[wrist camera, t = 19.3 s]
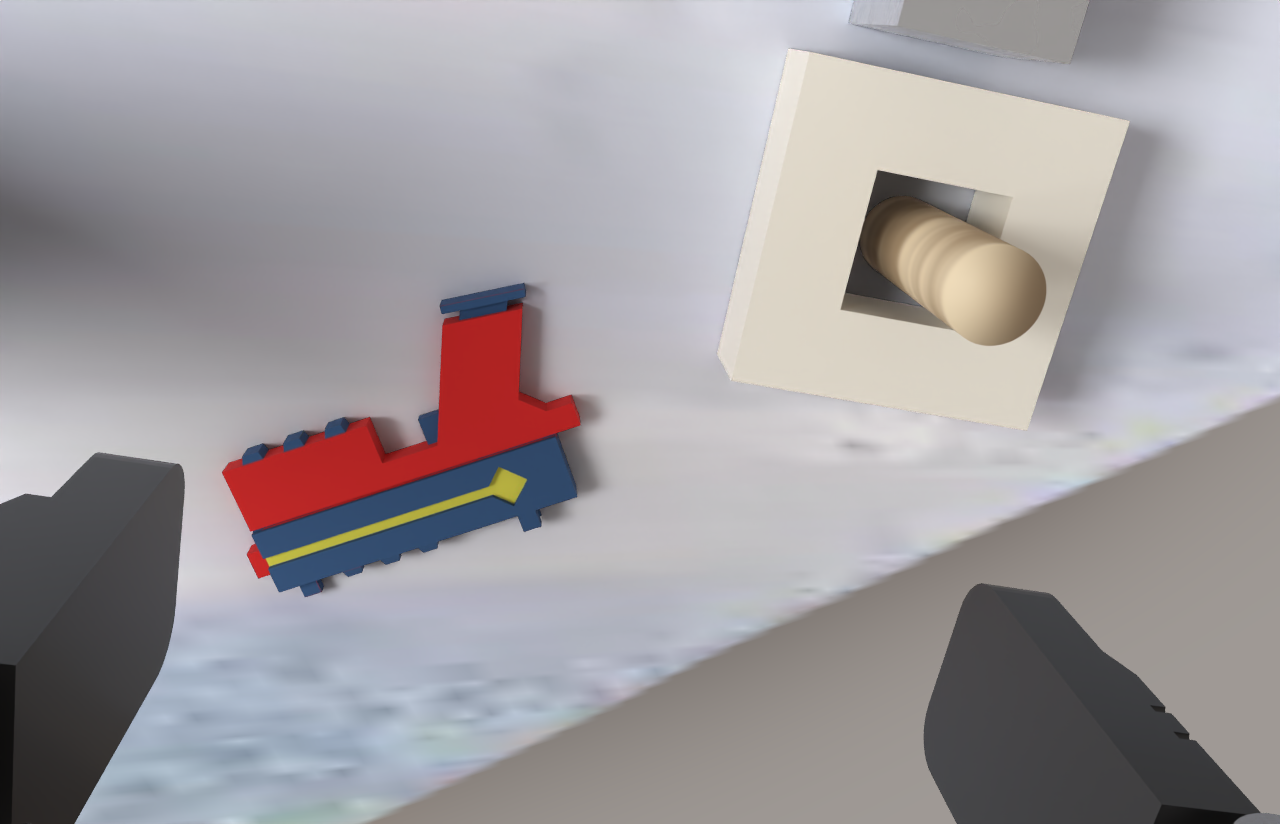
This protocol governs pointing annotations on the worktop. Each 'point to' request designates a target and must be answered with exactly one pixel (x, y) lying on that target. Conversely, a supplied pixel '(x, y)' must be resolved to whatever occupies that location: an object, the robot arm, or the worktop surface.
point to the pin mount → (982, 24)
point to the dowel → (955, 270)
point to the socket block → (834, 215)
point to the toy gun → (412, 463)
